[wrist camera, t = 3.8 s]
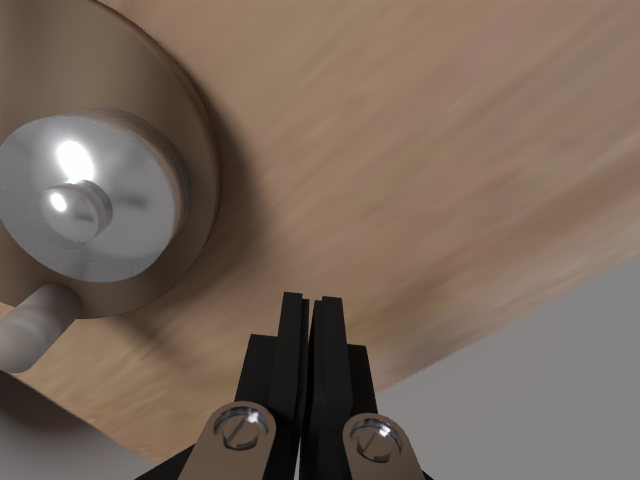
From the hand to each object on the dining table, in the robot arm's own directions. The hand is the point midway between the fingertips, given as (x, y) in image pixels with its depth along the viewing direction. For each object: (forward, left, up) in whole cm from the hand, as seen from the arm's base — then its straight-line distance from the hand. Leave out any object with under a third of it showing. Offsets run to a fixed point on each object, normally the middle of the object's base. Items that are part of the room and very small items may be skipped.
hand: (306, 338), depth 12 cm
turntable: (+13, -1, -11) cm, 17 cm away
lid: (+9, -1, -9) cm, 13 cm away
